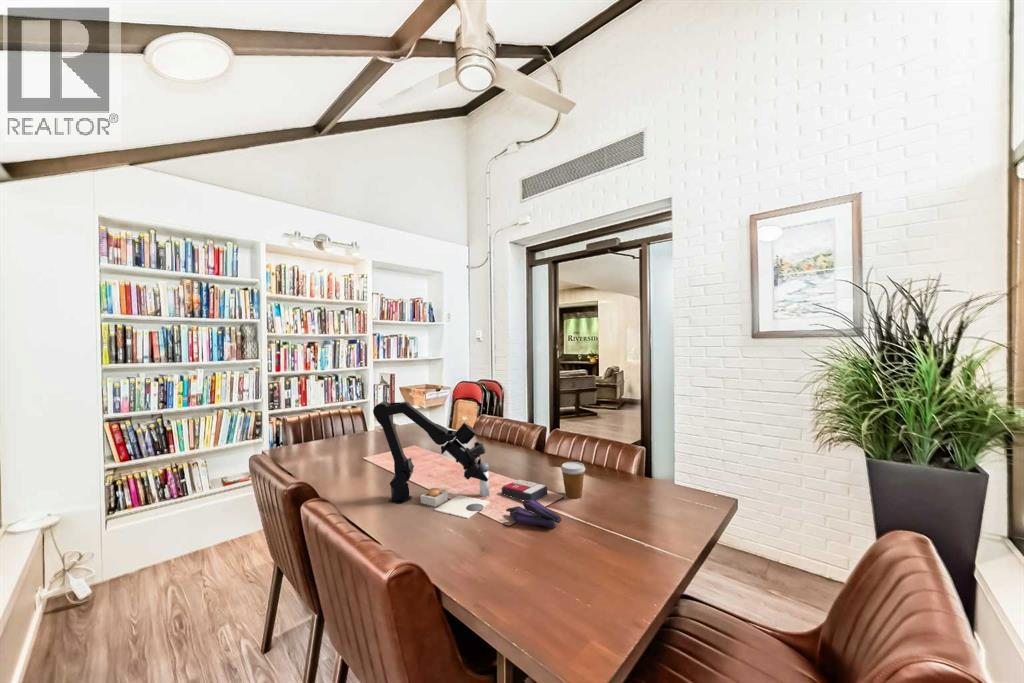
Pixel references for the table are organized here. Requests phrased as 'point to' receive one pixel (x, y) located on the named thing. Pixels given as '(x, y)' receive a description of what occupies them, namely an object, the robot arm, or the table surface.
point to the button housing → (434, 499)
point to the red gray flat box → (524, 490)
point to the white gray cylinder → (483, 484)
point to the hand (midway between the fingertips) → (487, 478)
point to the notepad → (462, 506)
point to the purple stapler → (539, 518)
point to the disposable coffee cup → (573, 479)
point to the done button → (434, 492)
